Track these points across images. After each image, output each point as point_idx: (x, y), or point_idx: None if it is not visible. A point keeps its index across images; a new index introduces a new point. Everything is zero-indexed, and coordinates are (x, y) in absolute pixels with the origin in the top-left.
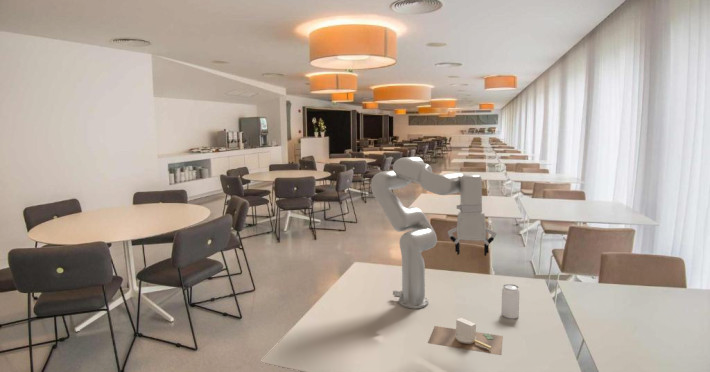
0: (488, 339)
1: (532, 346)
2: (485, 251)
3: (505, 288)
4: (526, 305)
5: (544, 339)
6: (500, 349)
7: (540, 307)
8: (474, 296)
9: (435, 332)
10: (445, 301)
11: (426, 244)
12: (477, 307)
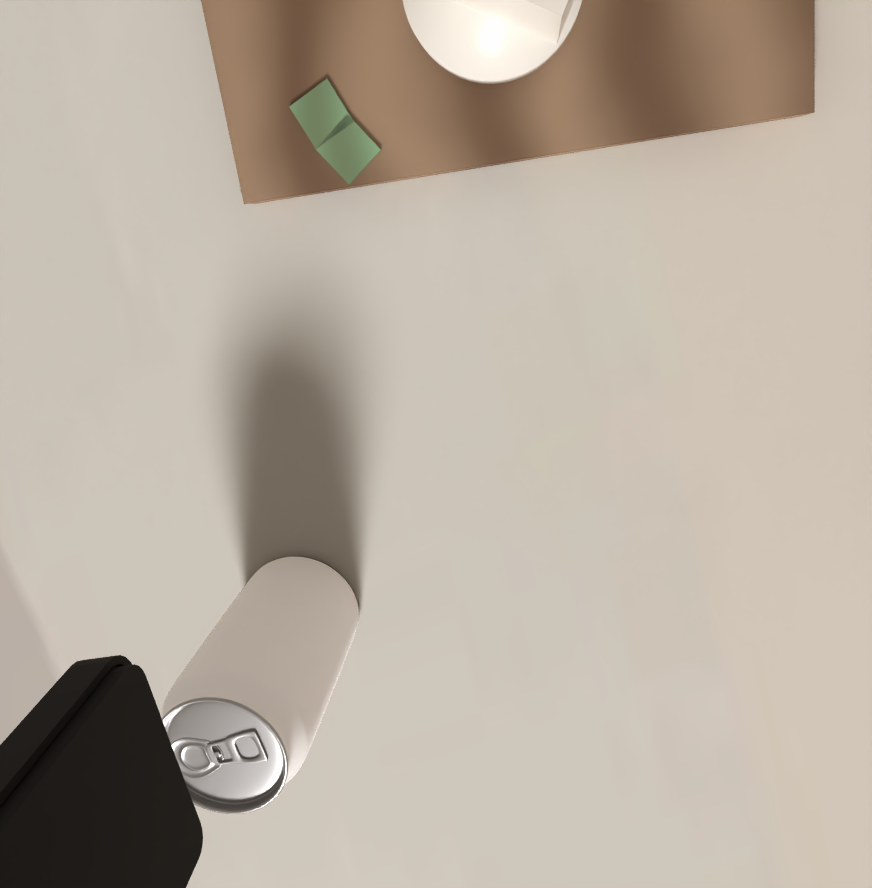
0: (324, 82)
1: (59, 206)
2: (30, 740)
3: (257, 711)
4: None
5: (23, 347)
6: None
7: None
8: (603, 815)
9: None
10: (809, 666)
11: None
12: (544, 650)
